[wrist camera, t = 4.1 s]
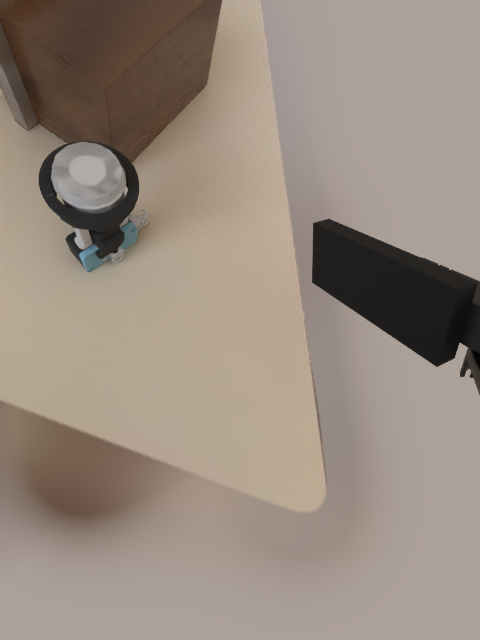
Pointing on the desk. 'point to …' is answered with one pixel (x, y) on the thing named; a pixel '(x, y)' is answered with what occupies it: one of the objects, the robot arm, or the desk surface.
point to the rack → (105, 65)
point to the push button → (93, 199)
